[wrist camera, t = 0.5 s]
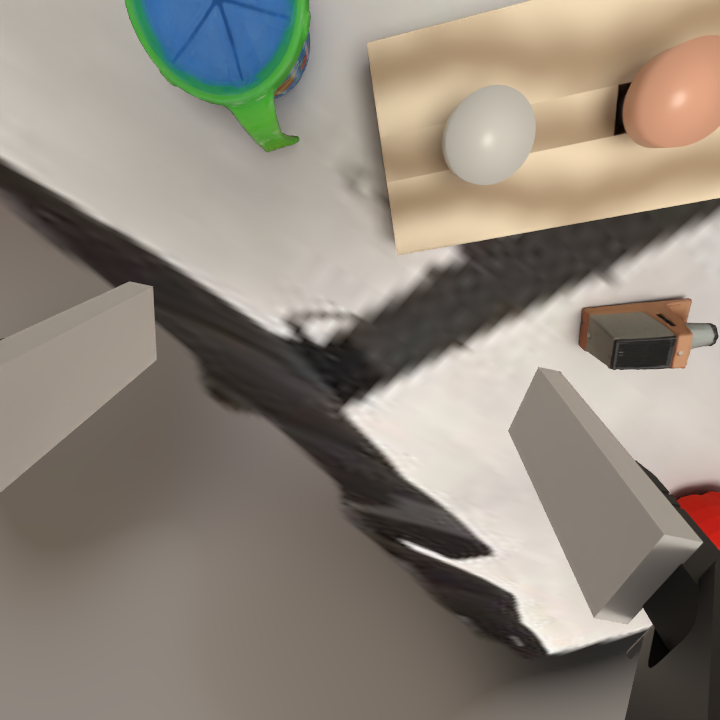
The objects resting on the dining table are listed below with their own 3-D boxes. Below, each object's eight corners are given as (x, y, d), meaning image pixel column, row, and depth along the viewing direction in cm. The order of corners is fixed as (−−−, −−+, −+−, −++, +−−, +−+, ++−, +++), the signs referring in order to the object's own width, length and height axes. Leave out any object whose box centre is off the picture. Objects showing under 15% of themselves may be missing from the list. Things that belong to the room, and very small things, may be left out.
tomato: (657, 486, 49) (701, 538, 42) (737, 475, 47) (795, 527, 40) (653, 536, 53) (692, 590, 46) (726, 527, 51) (777, 581, 44)
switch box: (369, 63, 31) (366, 42, 25) (702, -20, 27) (779, -64, 22) (395, 241, 37) (397, 255, 31) (669, 191, 33) (723, 197, 28)
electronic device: (675, 335, 39) (733, 370, 33) (575, 346, 41) (612, 382, 34) (684, 294, 38) (748, 322, 31) (579, 307, 39) (618, 337, 32)
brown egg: (591, 73, 26) (648, 48, 21) (673, 54, 26) (756, 23, 20) (585, 156, 29) (636, 155, 23) (661, 141, 28) (733, 136, 22)
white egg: (430, 109, 28) (442, 96, 22) (504, 93, 27) (536, 74, 22) (437, 186, 30) (450, 192, 25) (506, 173, 30) (535, 175, 24)
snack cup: (164, -79, 28) (56, -196, 19) (306, -117, 26) (265, -263, 17) (230, 163, 35) (175, 163, 25) (345, 142, 33) (330, 135, 24)
